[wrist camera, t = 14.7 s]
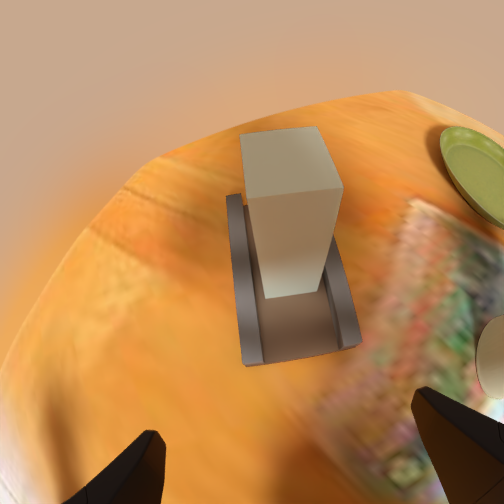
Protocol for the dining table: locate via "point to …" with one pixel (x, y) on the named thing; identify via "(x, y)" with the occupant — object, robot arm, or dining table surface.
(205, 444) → the dining table surface
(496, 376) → the can
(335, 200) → the white rectangular block
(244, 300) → the floor track
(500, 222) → the saucer
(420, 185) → the dining table surface
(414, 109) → the dining table surface
